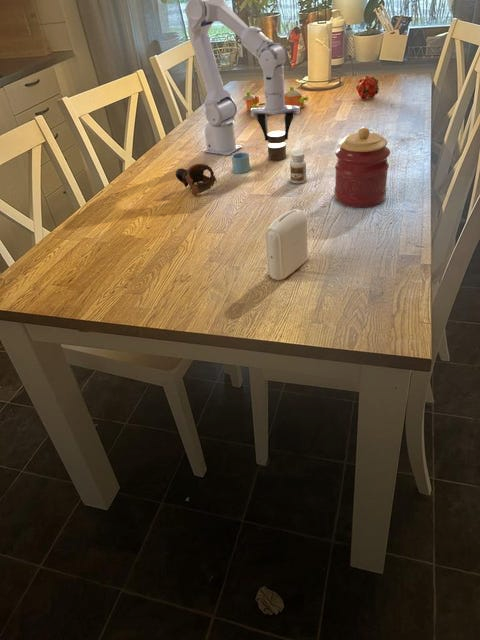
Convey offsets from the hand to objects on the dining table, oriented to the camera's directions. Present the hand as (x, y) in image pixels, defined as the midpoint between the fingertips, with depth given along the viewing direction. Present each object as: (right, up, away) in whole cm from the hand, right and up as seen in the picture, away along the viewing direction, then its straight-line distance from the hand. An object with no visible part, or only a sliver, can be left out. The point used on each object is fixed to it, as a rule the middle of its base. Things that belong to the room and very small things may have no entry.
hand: (276, 139), depth 153 cm
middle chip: (0, -3, +2) cm, 4 cm away
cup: (-11, -10, -2) cm, 15 cm away
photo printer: (-1, -45, -48) cm, 66 cm away
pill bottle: (+5, -17, -12) cm, 21 cm away
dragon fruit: (+40, +34, +48) cm, 71 cm away
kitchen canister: (+20, -24, -25) cm, 40 cm away
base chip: (0, -5, +4) cm, 6 cm away
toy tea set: (+3, +28, +45) cm, 53 cm away
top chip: (0, 0, 0) cm, 0 cm away
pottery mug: (-23, -19, -11) cm, 32 cm away
